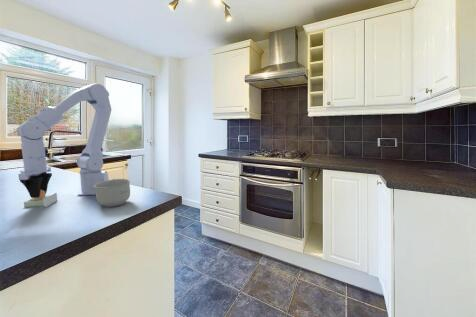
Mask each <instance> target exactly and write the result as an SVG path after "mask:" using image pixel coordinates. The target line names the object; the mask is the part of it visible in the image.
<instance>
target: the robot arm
mask: <svg viewBox="0 0 476 317" xmlns="http://www.w3.org/2000/svg"><path fill="white" fill-rule="evenodd" d="M109 96H110V92H109V91H108V89H107V88H106V87H105V86H104V85H103V84H100V83H99V82H98V83H97V82H95V83H92V84H89V85H83V86H82V87H81V88H78V89H76V90H75V91H73V92H72V93H71V94H69V95H68V96H67V97H65V98H64V99H63V100H61V101H60V102H58V104H56V105H55V106H46V107H41V108H39V112H38V113H37V114H34V115H33V116H32V117H31V116H30V117H28V118H27V120H28V121H25V122H22V123H21V124H20V125H18V127H17V130H16V133H17V135H18V136H19V137H20V141H21V144H20V146H21V153H22V161H23V169H22V170H20V171H19V172H20V173H18V180H19V182H20V183H21V184H23V186H24V188H26V190H27V193H28V194H29V196H30V199H31V198H36V197H40V190H43V191H45V193H46V194H47V191H48V185H49V182H50V180H51V177H52V176H53V173H52V169H51V168H52V167H51V166H50V165H49V166H48V165H47V158H46V152H45V151H46V149H45V148H46V147H45V143H44V137H45V135H46V133H47V131H49V130H50V129H52V128H53V127H55V126H56V125H57V124H58V123H60V122H61V121H62V120H63V118H64V116H63V115H64V114H65V113H66V112H68V111H69V110H71V109H72V108H73V107H75V106H76V105H78V104H79V103H80V102H85V101H86V102H87V103H88V104H90V105H91V106H92V107H93V109H94V110H95V112H94V116H93V120H92V124H91V127H90V131H89V135H88V138H87V143H86V145H85V148H84V149H82V151H81V154H80V155H79V156H78V157H77V159H76V164H77V167H78V168H80V170H79V175H80V176H79V177H80V178H79V179H80V187H81V188H80V189H81V191H80V192H79V193H77V196H89V195H90V196H91V195H96V193H95V188H94V185H95V184H97V183H100V182H103V181H108V180H110V179H109V173H108V171H106V170H102V168H103V166H104V160H103V157H104V153H103V151H102V147H103V144H104V140H105V137H106V132H107V129H108V126H109V121H110V117H111V114H112V106H111V101H110V97H109Z"/></svg>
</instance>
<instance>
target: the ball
mask: <svg viewBox="0 0 476 317" xmlns="http://www.w3.org/2000/svg"><path fill="white" fill-rule="evenodd" d="M46 194H47V192H46V193H45V191H43V190H40V197H36V198H34V199H35V200H41V199H43V198H44V197H45V196H47V195H46Z"/></svg>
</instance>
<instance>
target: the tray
mask: <svg viewBox="0 0 476 317" xmlns="http://www.w3.org/2000/svg"><path fill="white" fill-rule="evenodd" d="M47 196H48V195H45V197H47ZM45 197H44V198H45ZM23 207H24V208H27V207H28V208H29V207H31V208H32V207H44V203H43V199H41V200H35V199H34V198H31V197H30V198H29V199H27V200H26V201H24V202H23Z"/></svg>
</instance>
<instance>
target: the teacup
mask: <svg viewBox="0 0 476 317" xmlns="http://www.w3.org/2000/svg"><path fill="white" fill-rule="evenodd" d="M130 183H131V182H130V179H128V178H127V179H126V178H111V179H109V180H108V181H103V182H100V183H97V184H95V185H94V188H95V193H96V194H95V198H96V201H97V202H98V204H99V205H101V206H104V207H108V208H111V207H112V208H113V207H117V206H120V205H124V204H125V203H126V202H127V201H128V200H129V198H130V197H131V186H130Z"/></svg>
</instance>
